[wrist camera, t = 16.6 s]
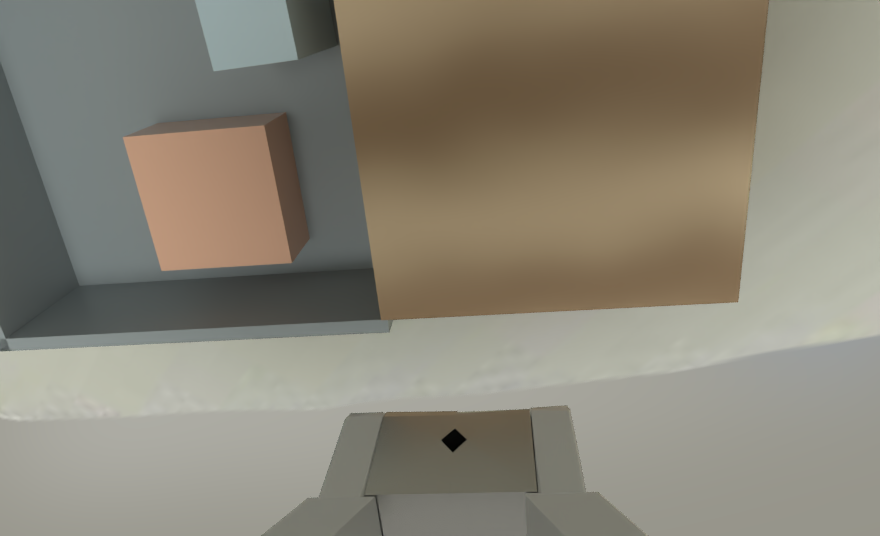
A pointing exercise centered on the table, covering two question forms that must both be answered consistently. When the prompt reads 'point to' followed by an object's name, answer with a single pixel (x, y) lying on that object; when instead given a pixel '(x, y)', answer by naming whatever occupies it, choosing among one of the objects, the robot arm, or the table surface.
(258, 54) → the tile blue
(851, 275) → the table surface
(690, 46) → the wooden block
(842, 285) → the table surface
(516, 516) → the robot arm
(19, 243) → the tray
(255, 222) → the tile terracotta
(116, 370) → the table surface
